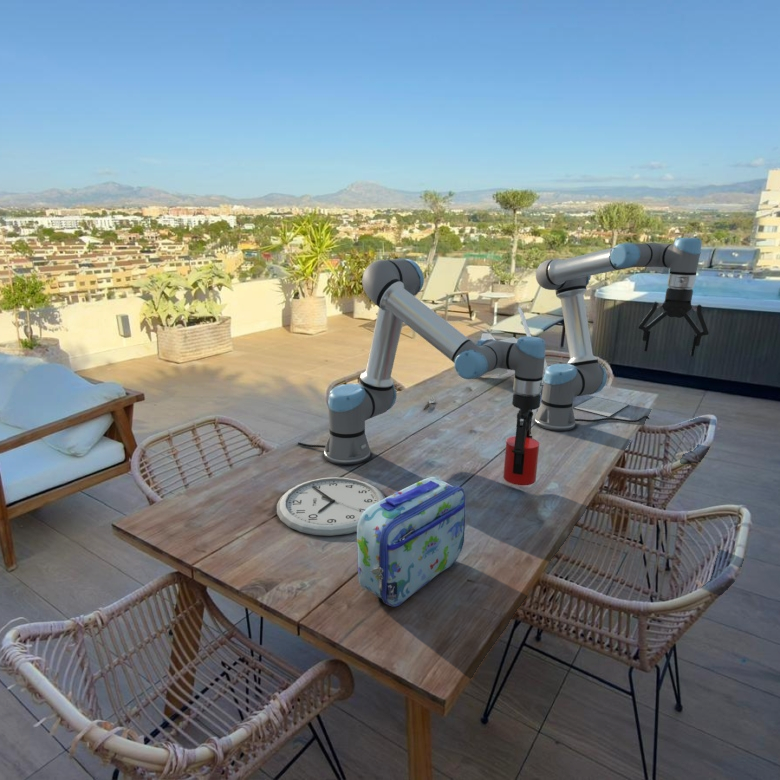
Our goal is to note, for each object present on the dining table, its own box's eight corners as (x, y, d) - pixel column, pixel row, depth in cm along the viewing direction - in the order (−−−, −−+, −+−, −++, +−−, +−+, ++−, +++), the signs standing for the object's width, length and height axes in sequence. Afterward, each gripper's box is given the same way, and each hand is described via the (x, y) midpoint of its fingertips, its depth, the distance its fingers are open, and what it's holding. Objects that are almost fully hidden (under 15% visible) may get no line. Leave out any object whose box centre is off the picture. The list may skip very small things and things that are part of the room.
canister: (496, 476, 154) (499, 440, 151) (518, 468, 159) (521, 433, 156) (520, 488, 147) (523, 451, 144) (542, 480, 152) (546, 443, 149)
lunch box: (386, 620, 101) (388, 525, 95) (350, 593, 108) (349, 503, 102) (468, 563, 119) (474, 480, 112) (432, 543, 126) (436, 464, 120)
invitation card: (608, 416, 214) (573, 407, 224) (608, 416, 214) (573, 408, 224) (628, 404, 229) (594, 396, 238) (628, 405, 229) (594, 397, 238)
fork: (420, 410, 217) (420, 406, 216) (430, 399, 231) (431, 395, 231) (426, 411, 216) (426, 406, 216) (436, 400, 231) (436, 395, 230)
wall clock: (392, 527, 129) (268, 531, 127) (391, 533, 130) (269, 537, 127) (383, 473, 158) (282, 475, 155) (383, 478, 158) (282, 480, 156)
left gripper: (536, 406, 134) (528, 485, 141) (545, 384, 154) (538, 454, 161) (506, 402, 137) (500, 480, 144) (519, 381, 157) (513, 450, 163)
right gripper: (636, 286, 169) (626, 350, 175) (726, 291, 158) (712, 360, 164) (637, 284, 175) (628, 346, 181) (724, 289, 164) (711, 355, 171)
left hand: (520, 466), depth 152 cm, fingers closed on canister, 9 cm apart
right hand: (668, 353), depth 173 cm, fingers open, 13 cm apart
